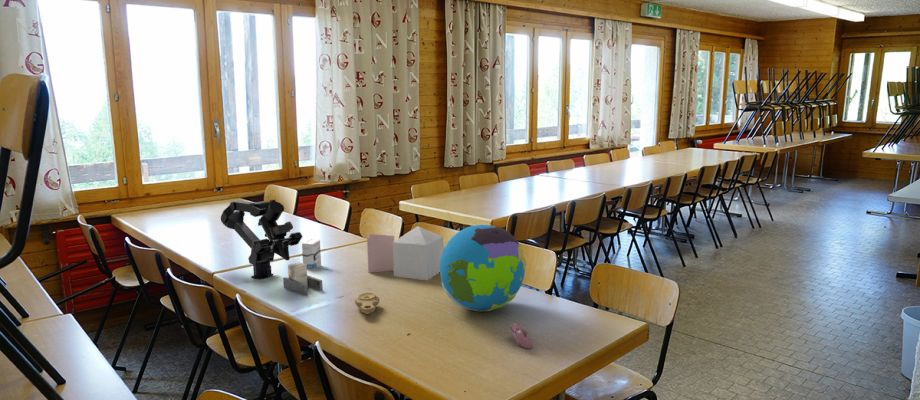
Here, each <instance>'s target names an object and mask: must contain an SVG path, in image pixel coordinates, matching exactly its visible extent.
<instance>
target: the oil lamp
mask: <svg viewBox="0 0 920 400" xmlns="http://www.w3.org/2000/svg"><path fill="white" fill-rule="evenodd" d="M354 303H355V305H356V306H357V307H358V308H359V309H360V311H361V313H363V314H366V315H369V314H372V313H374V312H375V311H376V307H377V306H378V305H379V303H380V297H379V296H378V295H376V294H375V293H374V292H365V293H361V294H358V295H357V296H356V297H355V298H354Z"/></svg>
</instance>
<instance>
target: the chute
mask: <svg viewBox="0 0 920 400" xmlns="http://www.w3.org/2000/svg"><path fill="white" fill-rule="evenodd" d="M282 281H283V284H282V285H283V288H284V289H286V290H288V291H292V292H295V293H297V294H299V295H303V296H308V288H311V289H314V290H316V291H319V292H321V291H323V280H322V279H319V278H316V277H314V276H311V275H308V274H307V282H308V287H307V284H304V283H301V282H298V281H295V280H293V279H290V278H289V277H288V276H285V277H282Z"/></svg>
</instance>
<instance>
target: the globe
mask: <svg viewBox="0 0 920 400" xmlns="http://www.w3.org/2000/svg"><path fill="white" fill-rule="evenodd" d="M523 252H524V248H522V245H521V244H520V243H519V241H518V240H517V239H516V237H515V236H513V234H511V232H509V231H508V230H507V229H505V228H503V227H499V226H493V225H489V224H476V225H471V226H467V227H465V228H463V229H462V230H460V231H458V232H457V233H455V234H454V235H452V237H451V238H450V239H449V240H448V241H447V243H446V244H445V246H444V247H443V252H442V255H441V259H440V273H439V275H440V280H441V287H442V289H443V291H444V292H445V293H444V294H446V295H447V297H448V298H449V299H450V300H451V301H452V302H453V304H455V305H457V306H459V307H461V308H463V309H465V310H470V311H473V312H474V311H475V312H490V311H494V310H496V309H500V308H503V307H504V306H505V305H507V304H508V303H509V302H512V301H513V299H515V297H516V296H517V293H518V292H519V291H520V289H521V287H522V284H523V281H524V279H525V273H526V268H527V266H526V265H527V261H526V259H525V256H524V253H523Z"/></svg>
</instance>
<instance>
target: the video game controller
mask: <svg viewBox="0 0 920 400" xmlns="http://www.w3.org/2000/svg"><path fill="white" fill-rule="evenodd" d="M509 327H510V329H509V333H510V334H513V336H514V339H515V341H516V344H518V345H519V347H520V346H522V347H523V348H526V349H528V350H529V349H533V348H534V343H533V342H532V340H531V339H528V336H529V333H528V331H527V330H526V329H525V328H523V327H522V326H521V325H520V324H519V323H517V322H516V323H512V324H510V326H509Z"/></svg>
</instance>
